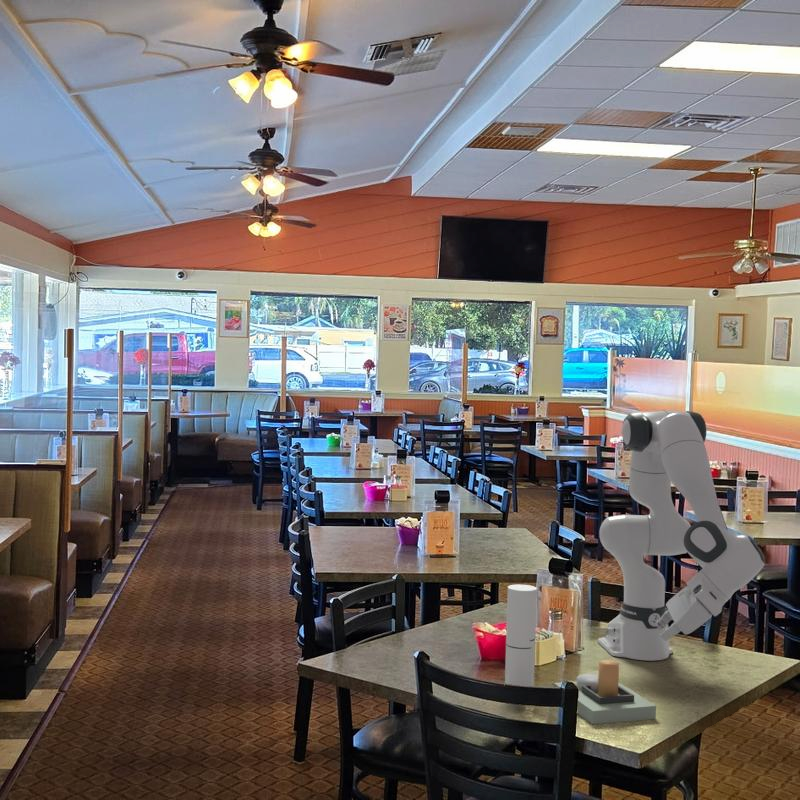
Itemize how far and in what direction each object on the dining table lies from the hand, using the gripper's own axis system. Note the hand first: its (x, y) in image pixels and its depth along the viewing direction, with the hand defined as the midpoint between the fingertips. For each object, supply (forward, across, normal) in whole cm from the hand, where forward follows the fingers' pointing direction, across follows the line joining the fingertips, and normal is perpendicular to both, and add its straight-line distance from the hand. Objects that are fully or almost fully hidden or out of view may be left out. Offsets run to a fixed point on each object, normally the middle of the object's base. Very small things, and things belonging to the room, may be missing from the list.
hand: (659, 632), depth 228 cm
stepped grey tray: (+22, -2, +5) cm, 23 cm away
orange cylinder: (+19, 0, +3) cm, 19 cm away
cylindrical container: (+36, -11, -9) cm, 39 cm away
